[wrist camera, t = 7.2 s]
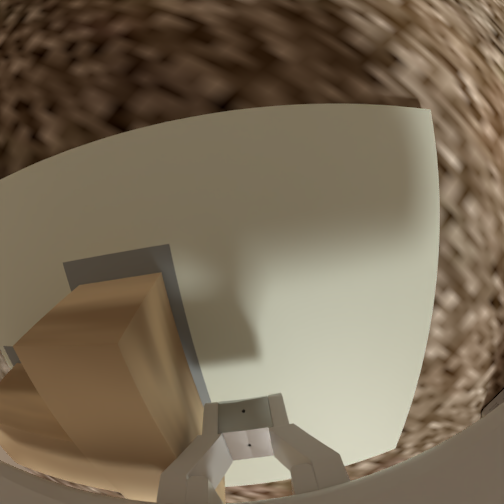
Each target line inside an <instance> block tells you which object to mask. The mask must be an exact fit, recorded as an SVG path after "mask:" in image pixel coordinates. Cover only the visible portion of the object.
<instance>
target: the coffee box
mask: <svg viewBox="0 0 504 504" xmlns="http://www.w3.org/2000/svg"><path fill="white" fill-rule="evenodd" d="M503 402H504V389H503V390H502V391H501V392H500V393H499V394H498V395H497V396H496V397H495V398H494V399H493V400H492V401H491V402H490V403H489V404H488V405H487V406H486V407H485V408H484V409H483V411H482V415H481V418H483V417H484V416H485V415H487V414H488V413H490V412H491V411H492V410H494V409H495V408H497V407H498V406H499V405H501V404H502V403H503Z"/></svg>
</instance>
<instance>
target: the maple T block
mask: <svg viewBox="0 0 504 504" xmlns="http://www.w3.org/2000/svg"><path fill="white" fill-rule="evenodd" d="M13 348H14V350H15V352H16V354H17V356H18V358H19V360H20V362H21V363H16V364H15V366H14V367H13V368H12V369H11V370H10V371H9V372H8V374H7V375H6V376H5V377H4V378H3V379H2V381H1V382H0V445H1V447H2V448H3V449H4V450H5V451H6V452H7V454H9V456H10V457H11V458H12V459H13V460H14V461H15V462H16V463H17V464H20V465H22V466H25V467H27V468H30V469H33V470H35V471H38V472H41V473H44V474H47V475H50V476H53V477H56V478H60V479H63V480H67V481H70V482H74V483H78V484H82V485H86V486H91V487H96V488H100V489H106V490H111V491H117V492H120V493H121V494H122V495H123V496H125V497H126V498H127V499H131V500H139V501H147V502H156V501H157V494H158V487H159V481H160V475H161V474H162V473H163V472H164V471H165V470H166V469H167V467H168V466H169V465H170V464H171V463H172V462H173V461H174V460H175V459H177V457H178V456H179V455H180V454H181V453H182V452H183V451H184V450H185V449H186V448H187V447H188V446H189V445H190V444H191V442H192V441H193V440H194V439H195V438H196V437H197V436H198V435H202V426H203V413H204V407H203V404H202V402H201V399H200V396H199V394H198V391H197V388H196V385H195V383H194V380H193V377H192V374H191V371H190V368H189V365H188V362H187V359H186V356H185V353H184V350H183V347H182V344H181V340H180V337H179V334H178V331H177V327H176V324H175V321H174V317H173V314H172V310H171V307H170V303H169V299H168V296H167V292H166V288H165V284H164V280H163V277H162V273H161V272H160V273H153V274H147V275H141V276H134V277H128V278H122V279H115V280H109V281H102V282H96V283H89V284H83V285H79V286H78V287H76V288H75V289H74V290H73V291H72V292H71V293H69V294H68V295H67V296H66V297H65V298H64V299H62V300H61V301H60V302H59V303H58V304H57V305H56V306H55V307H53V308H52V309H51V310H50V311H49V312H48V313H47V314H46V315H45V316H44V317H42V318H41V319H40V320H39V321H38V322H37V323H36V324H35V325H34V326H33V327H32V328H31V329H30V330H29V331H28V332H27V333H25V334H24V335H23V336H22V337H21V338H20V339H19V340H18V341H17V342H16V343H15V344H14V345H13ZM215 491H216V492H217V494H218V495H219V497H220V498H221V500H222V502H223V503H224V504H225V475H224V477H223V478H222V480H221V481H220V483H219V484H218V486H217V487H216V489H215Z"/></svg>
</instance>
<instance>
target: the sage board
mask: <svg viewBox="0 0 504 504" xmlns="http://www.w3.org/2000/svg"><path fill="white" fill-rule="evenodd" d="M439 229H440V203H439V178H438V164H437V153H436V144H435V136H434V129H433V122H432V116H431V110H429V109H421V108H412V107H402V106H390V105H374V104H298V105H281V106H268V107H258V108H248V109H240V110H232V111H225V112H218V113H211V114H205V115H199V116H194V117H188V118H183V119H178V120H173V121H168V122H164V123H159V124H155V125H151V126H147V127H143V128H139V129H135V130H131V131H127V132H124V133H120V134H117V135H113V136H110V137H106V138H103V139H100V140H97V141H94V142H91V143H88V144H85V145H82V146H79V147H76V148H73V149H70V150H68V151H65V152H62V153H60V154H57V155H54V156H52V157H49V158H47V159H44V160H42V161H40V162H37V163H35V164H33V165H30V166H28V167H26V168H24V169H21V170H19V171H17V172H15V173H13V174H11V175H9V176H7V177H5V178H3V179H1V180H0V350H1V352H2V354H3V356H4V358H5V360H6V362H7V364H8V365H9V367H10V369H12V368H13V367H14V366H15V364H16V363H21V362H20V360H19V358H18V356H17V354H16V352H15V350H14V348H13V345H14V344H15V343H16V342H17V341H18V340H19V339H20V338H21V337H22V336H23V335H24V334H25V333H27V332H28V331H29V330H30V329H31V328H32V327H33V326H34V325H35V324H36V323H37V322H38V321H39V320H40V319H41V318H42V317H44V316H45V315H46V314H47V313H48V312H49V311H50V310H51V309H52V308H53V307H55V306H56V305H57V304H58V303H59V302H60V301H61V300H62V299H64V298H65V297H66V296H67V295H68V294H69V293H71V292H72V291H73V290H74V289H75V288H76V287H78V286H79V285H83V284H89V283H96V282H102V281H109V280H115V279H122V278H128V277H134V276H141V275H147V274H153V273H160V272H161V273H162V277H163V280H164V284H165V288H166V292H167V296H168V299H169V303H170V307H171V310H172V314H173V317H174V321H175V324H176V327H177V331H178V334H179V337H180V340H181V344H182V347H183V350H184V353H185V356H186V359H187V362H188V365H189V368H190V371H191V374H192V377H193V380H194V383H195V385H196V388H197V391H198V394H199V396H200V399H201V402H202V404H203V407H204V405H205V403H211V402H220V401H231V400H241V399H247V398H254V397H260V396H266V395H267V397H268V395H271V394H276V393H281V394H282V396H283V400H284V404H285V408H286V412H287V416H288V420H289V424H292V423H294V424H295V425H297V426H298V427H300V428H301V429H302V430H304V431H305V432H307V433H308V434H310V435H311V436H313V437H314V438H316V439H317V440H319V441H320V442H322V443H323V444H325V445H326V446H328V447H330V448H331V449H333V450H334V451H336V452H337V453H339V454H340V456H341V459H342V461H343V464H344V466H346V465H350V464H353V463H356V462H359V461H362V460H365V459H368V458H371V457H374V456H377V455H379V454H382V453H385V452H387V451H390V450H392V449H395V448H396V445H397V443H398V440H399V437H400V435H401V432H402V429H403V427H404V424H405V421H406V418H407V415H408V412H409V409H410V406H411V403H412V400H413V396H414V393H415V390H416V386H417V382H418V379H419V375H420V371H421V367H422V363H423V358H424V354H425V349H426V345H427V340H428V335H429V329H430V324H431V318H432V311H433V304H434V297H435V288H436V279H437V268H438V254H439ZM287 479H291V473H290V471H289V470H288V469H287V468H286V467H285V466H284V465H283V464H282V463H281V462H280V461H278V460H277V459H276V458H275V457H274V456H266V457H258V458H250V459H243V460H235V461H233V463H232V464H231V466H230V467H229V469H228V471H227V472H226V474H225V487H229V486H242V485H252V484H260V483H268V482H275V481H281V480H287Z"/></svg>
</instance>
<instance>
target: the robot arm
mask: <svg viewBox="0 0 504 504" xmlns="http://www.w3.org/2000/svg"><path fill="white" fill-rule="evenodd" d="M266 456H274V457H275V458H276V459H277V460H278V461H280V462H281V463H282V464H283V465H284V466H285V467H286V468H287V469H288V470H289V471H290V473H291V482H292V491H293V496H287V497H281V498H275V499H268V500H260V501H251V502H241V503H226V504H504V402H503V403H502V404H501V405H499V406H498V407H497V408H495V409H494V410H492V411H491V412H490V413H488V414H487V415H485V416H484V417H483V418H481V419H480V420H478V421H477V422H475V423H474V424H472V425H471V426H469V427H467V428H466V429H464V430H463V431H461V432H459V433H458V434H456V435H454V436H453V437H451V438H449V439H447V440H445V441H444V442H442V443H440V444H438V445H436V446H434V447H433V448H431V449H429V450H427V451H425V452H423V453H421V454H418V455H416V456H414V457H412V458H410V459H408V460H406V461H403V462H401V463H399V464H396V465H394V466H391V467H389V468H386V469H384V470H381V471H379V472H376V473H373V474H371V475H368V476H365V477H362V478H359V479H356V480H353V481H350V480H349V477H348V474H347V472H346V469H345V467H344V464H343V461H342V459H341V456H340V454H339V453H337V452H336V451H334V450H333V449H331V448H330V447H328V446H326V445H325V444H323V443H322V442H320V441H319V440H317V439H316V438H314V437H313V436H311V435H310V434H308V433H307V432H305V431H304V430H302V429H301V428H300V427H298V426H297V425H295V424H294V423H292V424H289V420H288V416H287V412H286V408H285V404H284V400H283V396H282V394H281V393H276V394H271V395H268V397H267V395H266V396H260V397H254V398H247V399H241V400H231V401H220V402H211V403H205V405H204V413H203V426H202V435H198V436H197V437H196V438H195V439H194V440H193V441H192V442H191V444H190V445H189V446H188V447H187V448H186V449H185V450H184V451H183V452H182V453H181V454H180V455H179V456H178V457H177V459H175V460H174V461H173V462H172V463H171V464H170V465H169V466H168V467H167V469H166V470H165V471H164V472H163V473H162V474H161V475H160V481H159V487H158V494H157V501H156V502H147V501H139V500H131V499H124V498H118V497H112V496H107V495H102V494H97V493H93V492H89V491H84V490H80V489H77V488H73V487H69V486H66V485H63V484H59V483H56V482H53V481H50V480H47V479H44V478H41V477H39V476H36V475H33V474H31V473H28V472H26V471H23V470H21V469H18V468H16V467H14V466H11V465H9V464H7V463H5V462H3V461H1V460H0V504H224V503H223V502H222V500H221V498H220V497H219V495H218V494H217V492H216V491H215V489H216V487H217V486H218V484H219V483H220V481H221V480H222V478H223V477H224V475H225V474H226V472H227V471H228V469H229V467H230V466H231V464H232V463H233V461H235V460H243V459H250V458H258V457H266Z"/></svg>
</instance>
